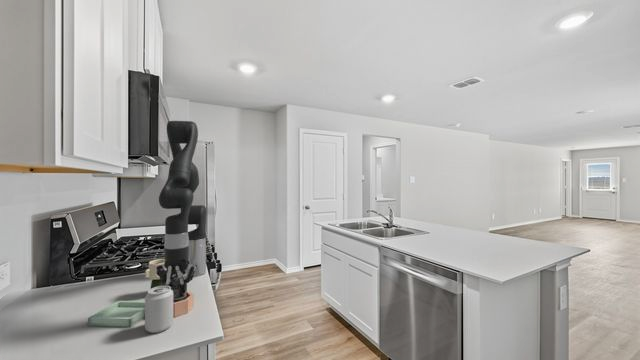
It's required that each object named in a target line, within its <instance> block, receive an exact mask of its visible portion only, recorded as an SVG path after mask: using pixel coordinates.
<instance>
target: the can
mask: <svg viewBox="0 0 640 360" xmlns="http://www.w3.org/2000/svg"><path fill="white" fill-rule="evenodd" d="M144 301H145V317H144V330H145V331H147V332H148V333H151V334H156V333H161V332H164V331H166V330H168V329H170V327H171V326H172V325H173V324H174V318H173V291H172V290H171V287H170V286H158V287H154V288H152V289H150V288H149V289H148V290H147V293H146V295H145V297H144Z"/></svg>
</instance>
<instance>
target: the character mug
mask: <svg viewBox="0 0 640 360" xmlns="http://www.w3.org/2000/svg"><path fill="white" fill-rule="evenodd" d="M164 263H165V258H159V259H154V260H150V261H149V262H148V268H147V269H145V272H144V274H145V275H144V277H145V278H146V279H149V280H151V283H150V287H149V290H150V289H152V288H154V287H158V286H167V284H166V283H165V282H163V283H162V282H161V280H160V277H159V274H158V271H157V269H156V267H157V266H159V265H161V264H164ZM166 272H167V273H168V271H167V269H166Z"/></svg>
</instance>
